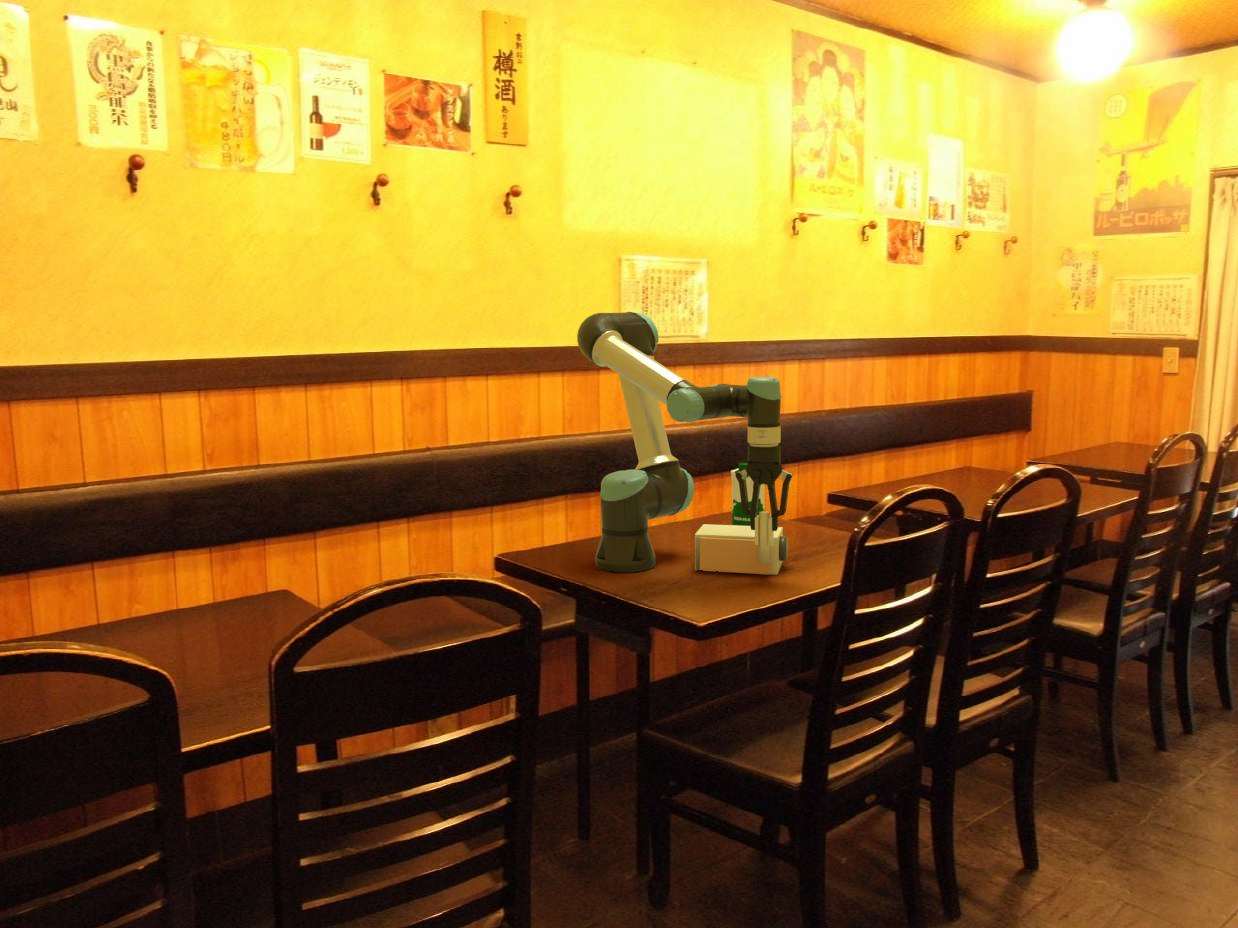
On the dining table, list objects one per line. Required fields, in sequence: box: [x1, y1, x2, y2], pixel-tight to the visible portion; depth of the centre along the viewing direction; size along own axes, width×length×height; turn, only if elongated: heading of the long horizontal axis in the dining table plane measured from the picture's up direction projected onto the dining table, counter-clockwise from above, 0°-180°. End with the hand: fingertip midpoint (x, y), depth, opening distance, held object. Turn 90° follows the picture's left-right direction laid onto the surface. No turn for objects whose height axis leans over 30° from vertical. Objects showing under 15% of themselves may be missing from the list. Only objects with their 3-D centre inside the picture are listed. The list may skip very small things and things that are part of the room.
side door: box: [695, 511, 772, 575], centre depth 233 cm, size 18×5×16 cm, turn 73°
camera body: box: [694, 523, 789, 576], centre depth 242 cm, size 22×12×9 cm, turn 75°
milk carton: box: [730, 462, 766, 526], centre depth 280 cm, size 9×9×20 cm
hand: (764, 543), depth 229 cm, fingers closed on side door, 2 cm apart
